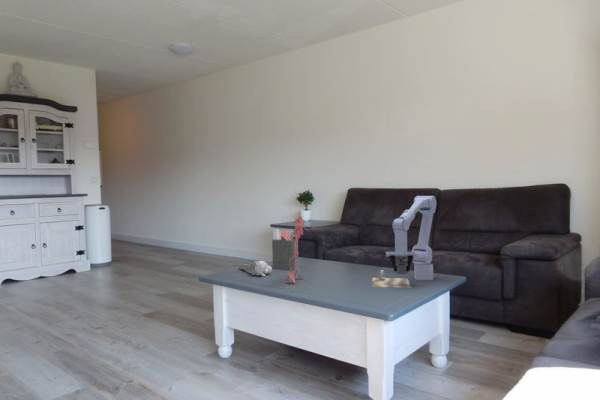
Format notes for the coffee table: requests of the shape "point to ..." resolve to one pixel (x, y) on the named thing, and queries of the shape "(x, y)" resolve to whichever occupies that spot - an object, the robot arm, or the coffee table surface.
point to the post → (382, 275)
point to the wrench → (249, 267)
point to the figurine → (297, 232)
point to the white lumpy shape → (263, 268)
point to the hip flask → (283, 254)
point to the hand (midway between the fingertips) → (401, 271)
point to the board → (391, 282)
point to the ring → (401, 268)
